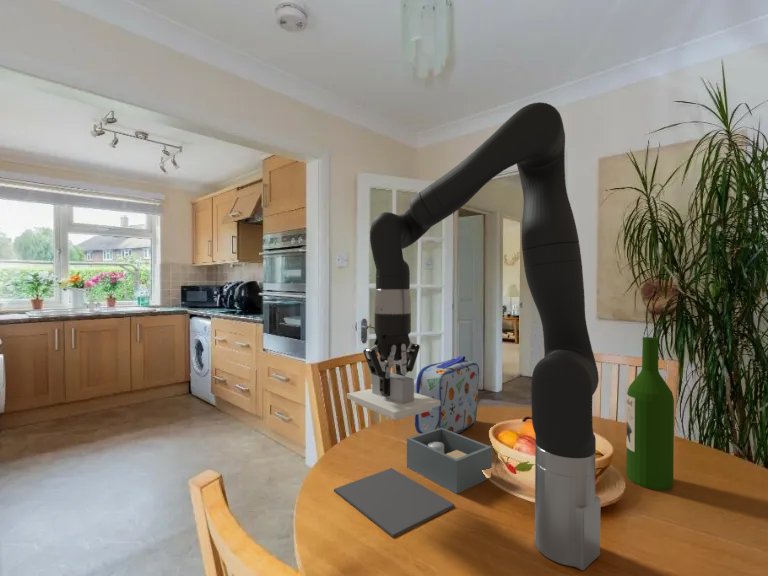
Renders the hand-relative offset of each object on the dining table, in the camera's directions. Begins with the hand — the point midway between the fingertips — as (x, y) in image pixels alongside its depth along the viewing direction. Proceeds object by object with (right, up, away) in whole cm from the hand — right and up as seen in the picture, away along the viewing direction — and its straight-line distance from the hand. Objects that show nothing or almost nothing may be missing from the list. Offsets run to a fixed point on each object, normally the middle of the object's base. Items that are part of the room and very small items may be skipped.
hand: (392, 393), depth 83 cm
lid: (0, -3, 0) cm, 3 cm away
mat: (0, -22, 0) cm, 22 cm away
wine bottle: (+59, -22, +8) cm, 63 cm away
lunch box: (+18, -22, +40) cm, 49 cm away
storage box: (+13, -22, +12) cm, 28 cm away
